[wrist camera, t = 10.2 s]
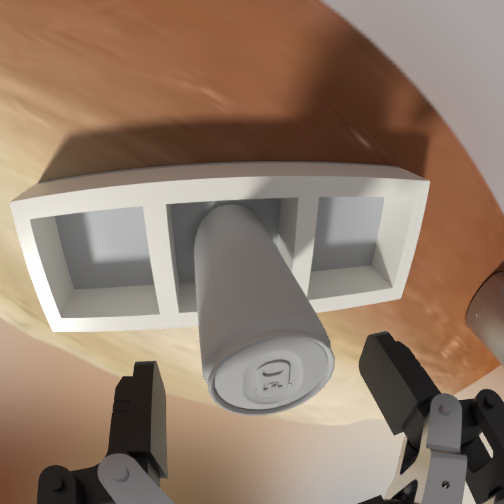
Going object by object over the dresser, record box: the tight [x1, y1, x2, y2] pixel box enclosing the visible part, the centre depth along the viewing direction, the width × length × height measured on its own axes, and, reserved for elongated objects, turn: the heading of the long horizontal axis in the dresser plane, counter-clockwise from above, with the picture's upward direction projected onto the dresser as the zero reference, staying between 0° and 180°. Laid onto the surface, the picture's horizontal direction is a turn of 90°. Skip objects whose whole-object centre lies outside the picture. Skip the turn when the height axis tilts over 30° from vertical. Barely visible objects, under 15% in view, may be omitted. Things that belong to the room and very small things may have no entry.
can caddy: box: [10, 161, 430, 332], centre depth 19 cm, size 26×9×4 cm, turn 89°
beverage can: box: [194, 205, 334, 416], centre depth 15 cm, size 5×5×12 cm
